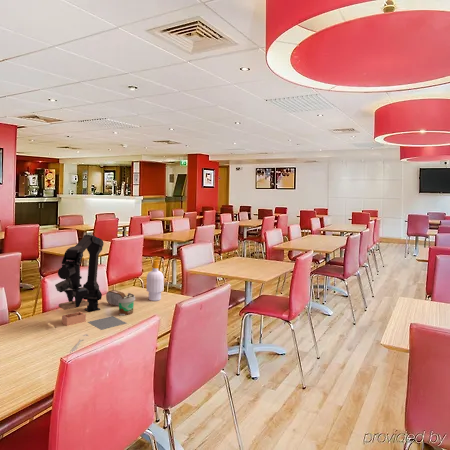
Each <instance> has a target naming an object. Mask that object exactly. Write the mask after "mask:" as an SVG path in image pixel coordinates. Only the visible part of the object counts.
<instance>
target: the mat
mask: <svg viewBox="0 0 450 450" xmlns="http://www.w3.org/2000/svg"><path fill="white" fill-rule="evenodd" d="M87 323H88V324H90V325H92V326H94V327H96V328H97V329H99V330H100V331H103V330H107V329H111V328H114V327H118V326H122V325H127V324H128V323H127V322H126V321H123V320H122V319H120V318H117V317H116V316H114V315H111V316H107V317H101V318H99V319H95V320H91V321H87Z"/></svg>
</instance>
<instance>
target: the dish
mask: <svg viewBox="0 0 450 450" xmlns="http://www.w3.org/2000/svg"><path fill="white" fill-rule="evenodd" d="M86 317H87V316H86V313H84V312H82V311H78V312H71V313H67V314H62V315H61V323H62V324H63V325H64V326H67V327H69V326H73V325H76V324H81V323H85V322H86V321H87V320H86Z"/></svg>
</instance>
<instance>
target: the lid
mask: <svg viewBox="0 0 450 450" xmlns="http://www.w3.org/2000/svg"><path fill="white" fill-rule="evenodd" d="M88 305H89V302H87V300H86V299H85V300H83V299H82V301H81V303H80V305H79V307H76V304H75V300H73V301H71V302H69V301H67V302H61V303H58V308H60V309H63V310H64V311H68V310H72V309H77V308H82V307H87V306H88Z"/></svg>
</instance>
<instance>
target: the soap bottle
mask: <svg viewBox="0 0 450 450" xmlns="http://www.w3.org/2000/svg"><path fill="white" fill-rule="evenodd" d="M160 262H161V260H156V259H154V260H153V262H152V270H151V271H148V273H147V274H146V292H147V293H148V300H149V301H152V302H157V301H160V300H162V292H164V290H165V289H164V284H165V283H164V281H165V277H164V274H163V272H162V271H160V270H159V263H160Z"/></svg>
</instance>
